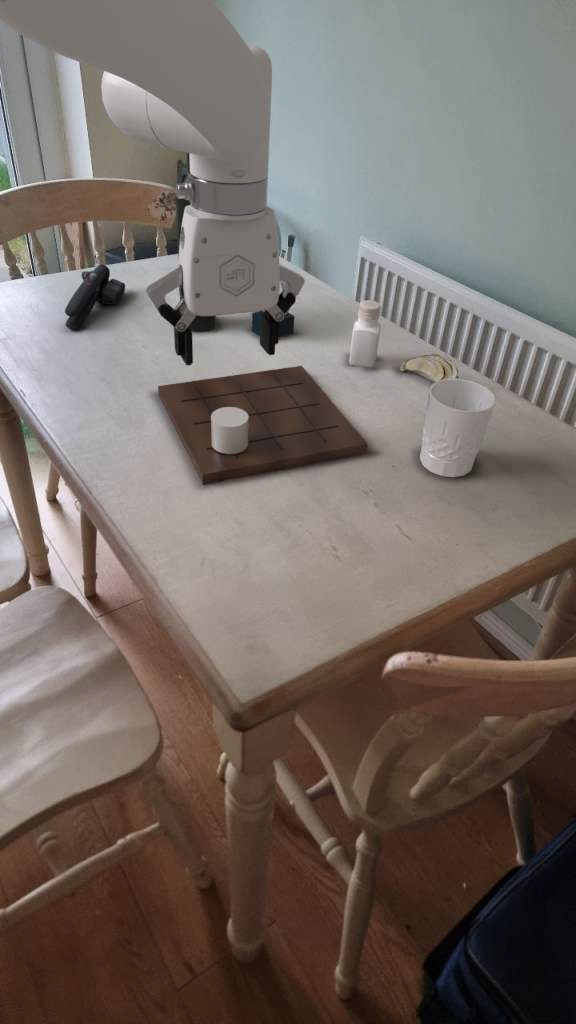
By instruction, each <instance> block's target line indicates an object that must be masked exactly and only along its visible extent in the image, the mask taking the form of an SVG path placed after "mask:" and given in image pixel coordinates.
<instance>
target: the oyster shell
mask: <svg viewBox="0 0 576 1024" xmlns="http://www.w3.org/2000/svg"><path fill="white" fill-rule="evenodd" d="M399 371H401V372H403V373H405V372H411V373H415V374H417V375H419V376H421V377H423V378H425V379H427V380H428V381H430V382H432V383H433V384H434V383H435V382H437V381H440V380H444V379H459V375H458V373H459V369H458V367H457V365H456V362H455V361H453V360H451V359H449V358H447V357H446V356H442V355H440V354H435V353H434V354H422V355H420V356H416V357H412V358H410V359H407V360H404V361H403V362H402V363H401V365H400V367H399Z"/></svg>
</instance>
